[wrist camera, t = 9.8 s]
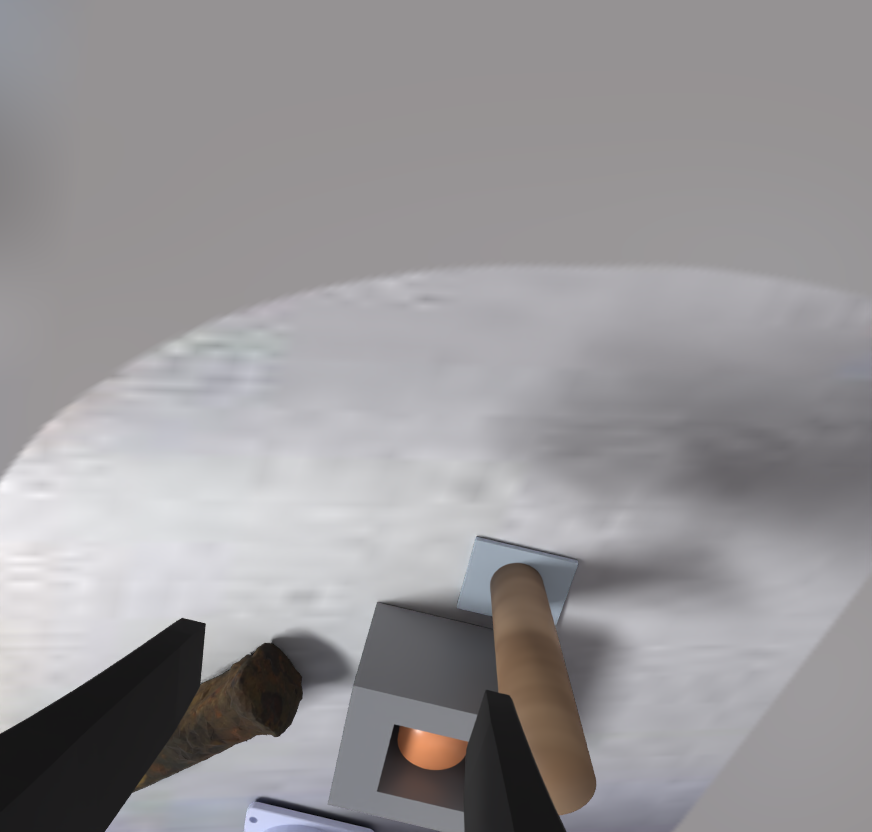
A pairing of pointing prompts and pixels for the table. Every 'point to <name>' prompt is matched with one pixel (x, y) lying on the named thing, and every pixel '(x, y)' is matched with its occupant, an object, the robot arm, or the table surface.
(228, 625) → the table surface
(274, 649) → the brown rough rod
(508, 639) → the wooden rod
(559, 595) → the pad
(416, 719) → the gray hollow box
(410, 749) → the orange rounded piece
